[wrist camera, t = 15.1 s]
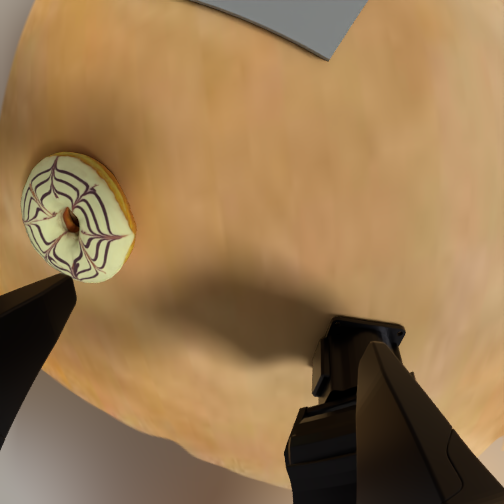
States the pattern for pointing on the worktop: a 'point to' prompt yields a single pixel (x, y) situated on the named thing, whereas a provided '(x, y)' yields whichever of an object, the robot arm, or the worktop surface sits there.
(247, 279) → the worktop surface
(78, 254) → the decorated donut
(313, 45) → the mat
